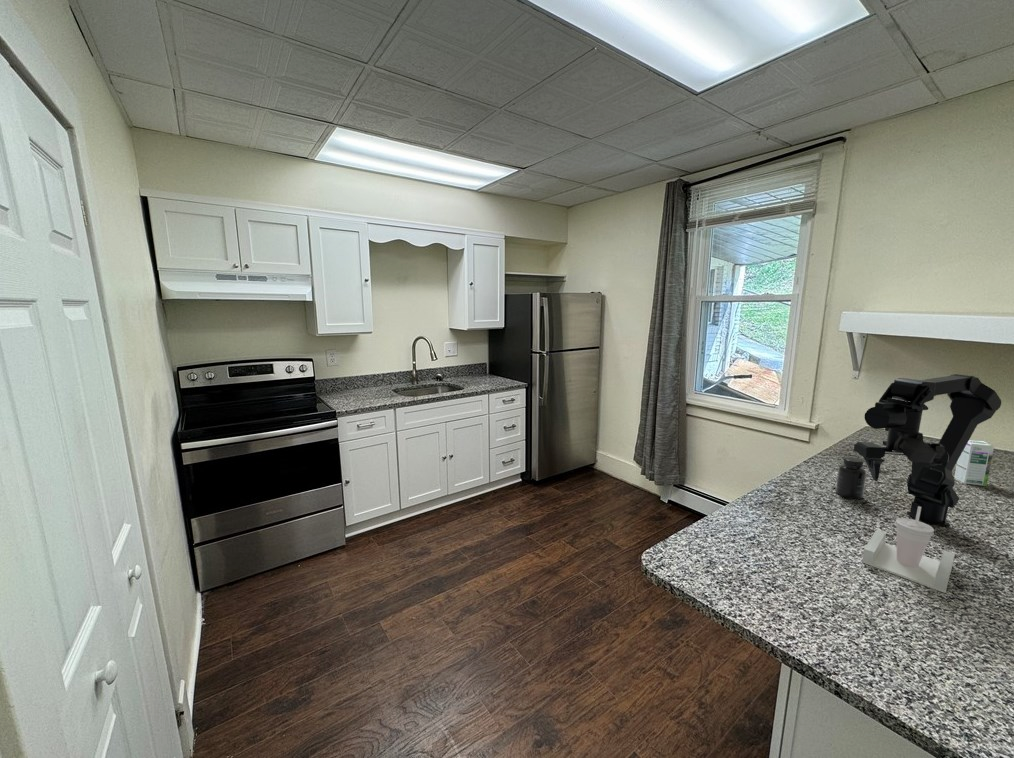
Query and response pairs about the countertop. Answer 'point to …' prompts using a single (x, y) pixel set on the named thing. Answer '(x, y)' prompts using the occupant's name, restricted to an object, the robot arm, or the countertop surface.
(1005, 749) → the countertop surface
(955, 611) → the countertop surface
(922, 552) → the smoothie
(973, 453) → the syrup box
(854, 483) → the supplement bottle
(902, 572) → the sheet metal channel
